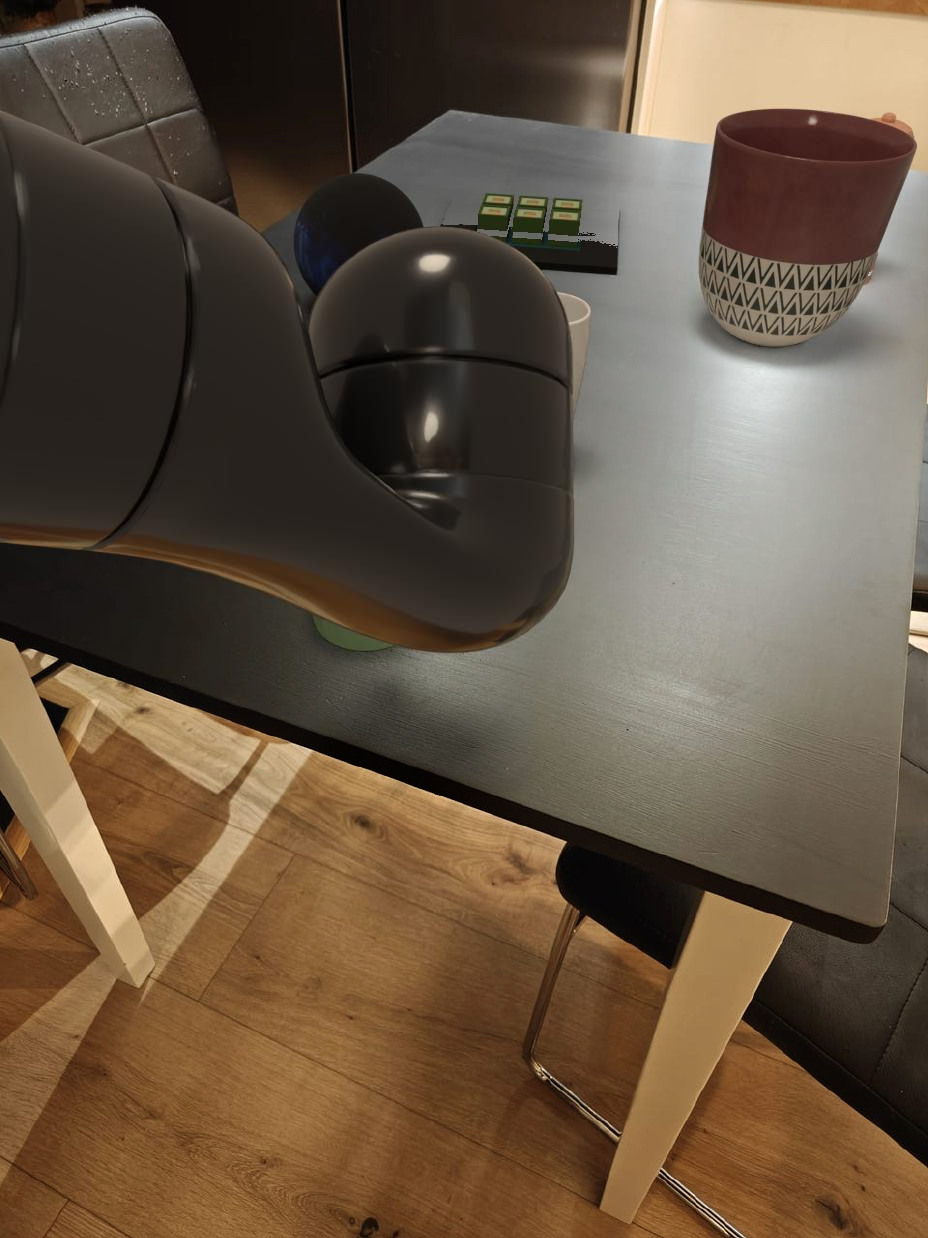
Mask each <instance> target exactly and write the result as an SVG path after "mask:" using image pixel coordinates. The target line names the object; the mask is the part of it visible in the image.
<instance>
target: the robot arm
mask: <svg viewBox="0 0 928 1238" xmlns="http://www.w3.org/2000/svg"><path fill="white" fill-rule="evenodd" d="M557 292H558V291H557V290H556V288H555V286H554V285H553V283H552V282H551V281H550V279H549V277H547V275H546V274H545V273H544V272H543V271H542V269H539V268H538V267H537V266H536V265H535V264H534V263H533V262H532V261H531V260H530V259H529V258H528V257H527V256H525V255H524V254H523V253H521V252H520V251H518V250H517V249H515V248H514V247H512V246H510V245H509V244H507V243H505V242H503V241H501V240H498V239H496V238H494V237H491V236H488V235H486V234H483V233H480V232H477V231H473V230H468V229H464V228H453V227H440V226H434V225H433V226H424V227H421V228H415V229H410V230H405V231H402V232H398V233H394V234H392V235H389V236H386V237H384V238H381V239H379V240H377V241H375V242H373V243H371V244H369V245H367V246H366V247H364V248H363V249H361V250H359V251H358V252H356V253H355V254H354V255H352V256H351V257H350V258H349V259H347V260H346V261H345V262H344V263H343V264H342V265H341V266H340V267H339V268H338V269H337V270H336V271H335V272H334V273H333V274H332V275H331V276H330V278H329V279H328V281H327V282H326V283H325V285H324V286H323V288H322V289H321V291H320V292H319V294H318V295H317V296H316V297H315V300H314V302H313V304H312V306H311V309H310V311H309V315H308V318H306V313H305V310H304V306H303V302H302V301H301V300H302V299H301V297H300V295H299V292H298V290H297V288H296V285H295V283H294V281H293V278H292V276H291V274H290V271H289V270H288V267H287V265H286V263H285V262H284V259H283V258H282V256H281V255H280V253H279V252H278V251H277V249H276V248H275V247H274V246H273V244H272V243H271V242H270V241H269V240H268V239H267V238H266V236H265V235H263V234H262V233H261V232H260V231H258V229H257V228H256V227H254V226H253V225H252V224H250V223H249V222H248V221H247V220H245V219H244V218H242V217H241V216H239V215H238V214H235V213H233V212H232V211H230V210H228V209H227V208H225V207H223V206H222V205H220V204H218V203H215V202H214V201H212V200H209V199H208V198H206V197H203V196H201V195H199V194H196V193H194V192H192V191H190V190H188V189H186V188H184V187H182V186H179V185H177V184H174V183H173V182H170V181H168V180H166V179H163V178H161V177H159V176H156V175H154V174H152V173H150V172H144V171H142V170H141V169H139V168H137V167H135V166H133V165H131V164H129V163H126V162H125V161H121V160H119V159H117V158H115V157H112V156H110V155H108V154H105V153H103V152H100V151H99V150H96V149H94V148H91V147H89V146H87V145H84V144H82V143H80V142H77V141H75V140H73V139H70V138H68V137H66V136H63V135H61V134H59V133H57V132H54V131H52V130H50V129H47V128H45V127H42V126H40V125H38V124H35V123H33V122H31V121H28V120H26V119H24V118H21V117H19V116H17V115H15V114H12V113H10V112H8V111H5V110H3V109H1V108H0V544H1V543H2V544H12V545H23V546H33V547H43V548H54V549H65V550H78V551H84V552H94V553H103V554H113V555H121V556H127V557H135V558H141V559H145V560H150V561H157V562H161V563H167V564H170V565H174V566H178V567H182V568H186V569H189V570H192V571H197V572H201V573H202V574H203V573H204V574H207V575H210V576H213V577H216V578H218V579H222V580H225V581H227V582H231V583H234V584H237V585H240V586H243V587H245V588H249V589H251V590H253V591H256V592H259V593H261V594H263V595H266V596H267V597H271V598H273V599H275V600H278V601H279V602H283V603H284V604H287V605H290V606H291V607H294V608H296V609H299V610H300V611H302V612H305V613H307V614H310V615H311V616H313V615H314V616H316V617H318V618H320V619H323V620H325V621H327V622H330V623H332V624H334V625H337V626H339V627H341V628H344V629H346V630H349V631H351V632H354V633H357V634H360V635H363V636H366V637H369V638H372V639H375V640H378V641H381V642H384V643H387V644H391V645H394V646H395V647H399V648H403V649H408V650H414V651H419V652H425V653H435V654H466V653H476V652H483V651H487V650H490V649H493V648H497V647H500V646H503V645H506V644H508V643H511V642H512V641H515V640H516V639H518V638H520V637H522V636H523V635H526V634H527V633H528V632H529V631H531V630H532V629H533V628H535V626H538V624H539V623H541V622H542V621H543V620H545V618H546V617H547V615H548V614H550V612H551V611H552V610H553V609H554V608H555V606H556V605H557V604H558V602H559V600H560V598H561V597H562V595H563V594H564V592H565V590H566V588H567V586H568V582H569V579H570V575H571V572H572V565H573V560H574V552H575V551H574V550H575V500H574V420H573V398H572V395H573V348H572V340H571V332H570V326H569V322H568V319H567V315H566V311H565V308H564V306H563V304H562V301H561V299H560V297H559V296H558V294H557Z"/></svg>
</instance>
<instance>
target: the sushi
mask: <svg viewBox="0 0 928 1238" xmlns="http://www.w3.org/2000/svg"><path fill="white" fill-rule="evenodd" d="M484 195H485V197H484V199H483V202H482V205H481V207H480V210H479V213H478V225H463V224H459V225H443V224H441V223H440V225H439V227H453V228H464V229H468V230H473V231H477V229H484V230H499V231H507V229H508V225H509V221H510V217H511V213H512V209H513V206H514V197H515V194H503V193H491V192H490V193H488V192H486V193H485V194H484ZM518 198H519V200H518V203H517V207H516V210H515V213H514V218H513V227H509V230H508V234H507V237H499V236H491V237H494V238H496V239H498V240H501V241H503V242H505V243H507V244H509V245H510V246H512V247H514V248H515V249H517V250H518V251H520V252H521V253H523V254H524V255H525V256H527V257H528V258H529V259H530V260H531V261H532V262H533V263H534V264H535V265H536V266H537V267H538V268H539V269H540V270H548V271H549V270H550V271H565V272H575V273H589V274H603V275H616V276H617V272H618V263H619V262H618V261H619V245H618V246H613V245H615V244H613V245H611V244H606V243H604V244H602V243H600V242H599V241H597V242H595V241H589V240H588V241H585V240H582V241H581V240H580V242H579V241H578V242H569V241H555V240H548V234H556V235H568V236H595V235H596V234H595V235H592V234H594V233H588V232H587V233H588V234H590V235H588V234H582V233H579V226H580V218H581V210H582V202H583V199H579V198H565V197H553V199H552V200H553V205H552V210H551V214H550V220H549V231H548V232H545V231H544V232H543V228H544V223H545V217H546V212H547V206H548V200H549V197H548V196H537V195H536V196H535V195H519V197H518ZM511 228H512V229H511ZM513 232H528V233H541V234H542V233H543V237H542V240H541V239H527V238H513V237H512V236H513ZM578 233H579V235H578ZM583 233H584V232H583ZM580 234H581V235H580ZM578 240H579V239H578ZM590 240H591V239H590ZM602 242H603V241H602ZM609 245H611V246H609ZM616 247H617V248H616Z"/></svg>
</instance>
